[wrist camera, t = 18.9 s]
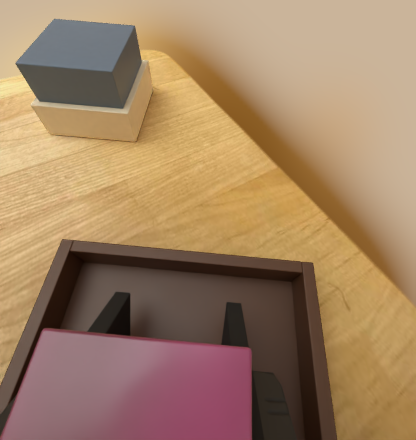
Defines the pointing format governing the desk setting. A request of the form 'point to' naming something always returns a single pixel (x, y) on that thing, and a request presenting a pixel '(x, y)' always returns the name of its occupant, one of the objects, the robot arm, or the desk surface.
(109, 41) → the slate block
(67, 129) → the cream block
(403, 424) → the desk surface
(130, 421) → the mulberry block
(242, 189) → the desk surface
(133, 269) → the tray
